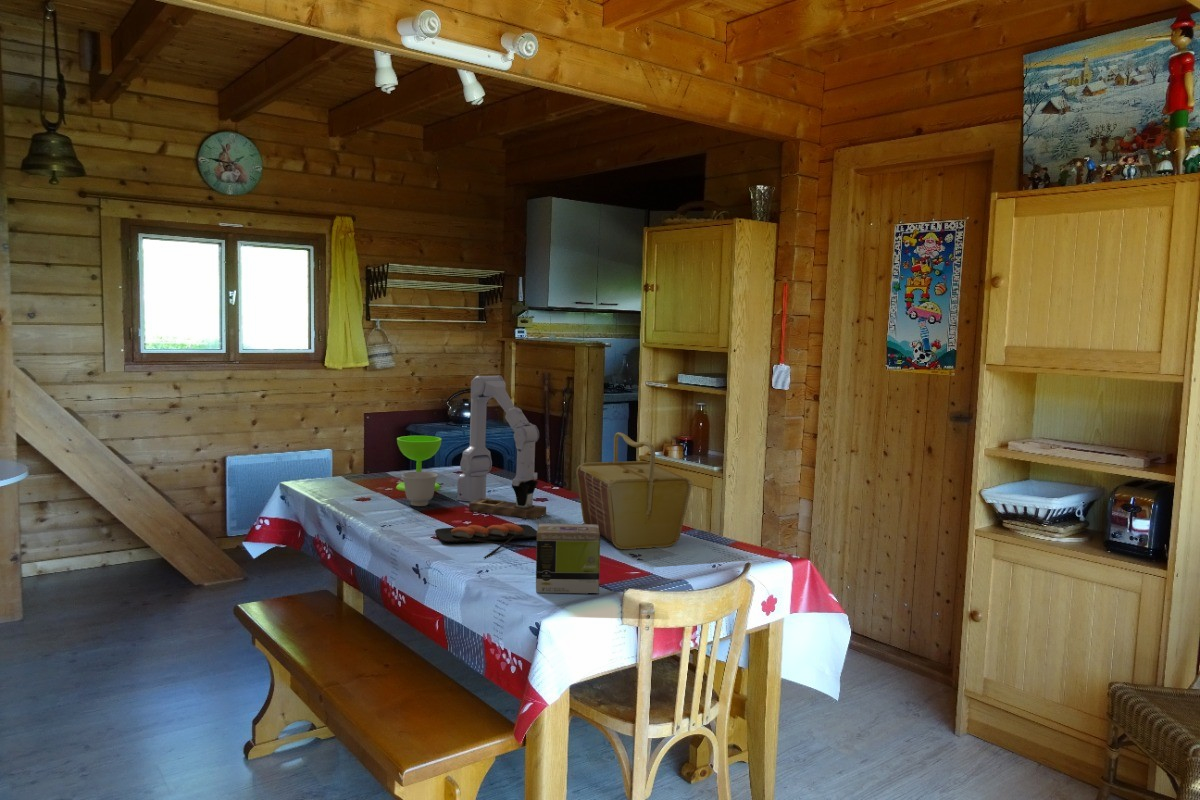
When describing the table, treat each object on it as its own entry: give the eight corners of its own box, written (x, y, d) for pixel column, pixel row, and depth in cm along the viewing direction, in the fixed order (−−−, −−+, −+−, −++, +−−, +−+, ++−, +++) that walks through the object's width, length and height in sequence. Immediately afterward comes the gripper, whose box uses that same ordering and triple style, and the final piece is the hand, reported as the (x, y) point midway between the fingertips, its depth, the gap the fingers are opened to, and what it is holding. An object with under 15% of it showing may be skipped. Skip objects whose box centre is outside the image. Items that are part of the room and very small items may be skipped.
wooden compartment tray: (469, 510, 283) (469, 502, 283) (480, 505, 291) (481, 497, 290) (535, 519, 275) (535, 510, 275) (546, 514, 282) (546, 505, 282)
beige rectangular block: (515, 515, 280) (516, 493, 279) (521, 512, 283) (521, 491, 283) (526, 516, 278) (527, 495, 277) (532, 513, 282) (532, 492, 281)
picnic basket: (572, 528, 265) (575, 431, 262) (649, 524, 275) (653, 430, 272) (606, 553, 238) (610, 446, 235) (690, 548, 247) (696, 444, 244)
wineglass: (392, 484, 321) (392, 436, 319) (434, 482, 327) (435, 435, 326) (401, 493, 306) (402, 442, 304) (445, 490, 313) (446, 441, 311)
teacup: (444, 499, 298) (445, 471, 297) (431, 509, 283) (432, 479, 282) (410, 497, 299) (410, 469, 298) (395, 507, 284) (396, 477, 283)
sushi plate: (528, 529, 264) (528, 517, 263) (559, 556, 236) (559, 542, 235) (432, 534, 253) (432, 522, 253) (453, 563, 225) (453, 549, 225)
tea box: (597, 582, 213) (599, 523, 211) (598, 595, 203) (601, 533, 201) (536, 580, 212) (538, 521, 211) (534, 593, 202) (536, 531, 201)
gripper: (527, 467, 271) (525, 509, 272) (546, 460, 284) (544, 501, 286) (506, 465, 273) (505, 507, 275) (526, 458, 287) (525, 498, 288)
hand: (524, 504), depth 280 cm, fingers closed on beige rectangular block, 4 cm apart
